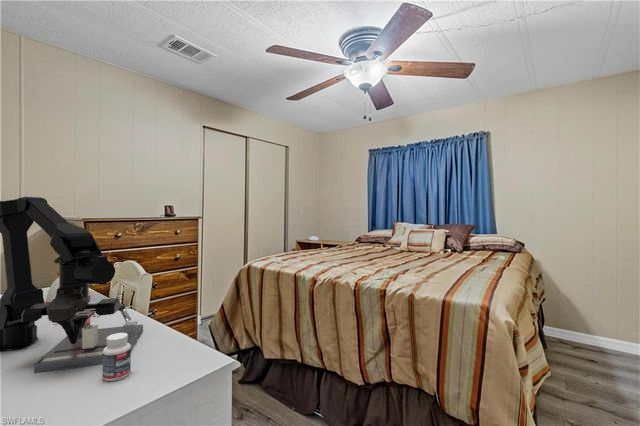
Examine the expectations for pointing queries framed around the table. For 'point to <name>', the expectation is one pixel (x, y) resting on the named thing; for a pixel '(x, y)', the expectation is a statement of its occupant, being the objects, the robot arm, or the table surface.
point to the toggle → (124, 312)
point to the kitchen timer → (53, 290)
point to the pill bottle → (116, 357)
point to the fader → (89, 336)
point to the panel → (75, 356)
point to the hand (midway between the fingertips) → (74, 343)
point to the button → (87, 322)
